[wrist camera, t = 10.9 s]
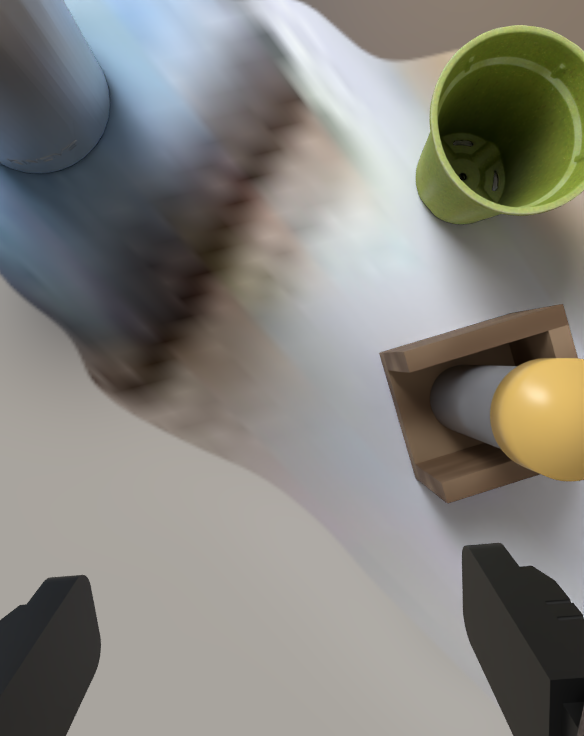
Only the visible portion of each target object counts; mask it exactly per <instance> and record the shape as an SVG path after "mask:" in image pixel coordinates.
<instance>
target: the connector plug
mask: <svg viewBox="0 0 584 736" xmlns="http://www.w3.org/2000/svg"><path fill="white" fill-rule="evenodd" d="M430 404H431V408H432V411H433V413H434V415H435V417H436V418H437V420H438V421H439V422H440V423H441V424H442V425H443V426H445V427H447V428H448V429H451V430H453V431H456V432H458V433H461V434H463V435H466V436H469V437H471V438H474V439H476V440H479V441H482V442H484V443H487V444H489V445H492V446H495V447H497V448H500V449H501V450H502V451H503V452H504V453H505V454H506V455H507V456H508V457H509V458H510V459H511V460H512V461H514V462H515V463H517V464H519V465H521V466H523V467H525V468H527V469H530V470H532V471H534V472H537V473H539V474H542V475H544V476H546V477H549V478H552V479H555V480H560V481H580V480H584V359H578V358H542V359H535V360H531V361H528V362H525V363H523V364H521V365H519V366H490V365H457V366H453V367H450V368H448V369H446V370H445V371H444V372H442V373H441V374H440V375H439V376H438V377H437V379H436V380H435V382H434V384H433V386H432V389H431V393H430Z"/></svg>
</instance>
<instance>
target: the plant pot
mask: <svg viewBox="0 0 584 736" xmlns="http://www.w3.org/2000/svg"><path fill="white" fill-rule="evenodd" d="M455 140H461V141H463V140H468V141H471V142H472V143H473V146H472V147H469V146H465V145H454V144H453V143H454V141H455ZM494 171H496V173H497V175H498V187H497V189H496V191H493V190H492V186H493V179H494V177H493V176H494ZM461 173H464V174H466V176H467V178H466V180H461V179H460V178H459V175H460V174H461ZM416 186H417V190H418V194H419V196H420V198H421V200H422V201H423V202H424V203H425V205H426V206H427V207H428V208H429V209H430V211H431V212H432V213H433V214H434V215H435V216H436V217H438V218H439V219H441V220H443V221H446V222H449V223H453V224H469V223H474V222H477V221H480V220H483V219H487V218H490V217H493V216H496V215H499V214H506V215H516V216H524V215H534V214H540V213H543V212H547V211H550V210H553V209H555V208H557V207H560V206H562V205H564V204H566V203H567V202H569V201H571V200H572V199H574V198H575V197H576V196H578V195H579V194H580V193H581V192H583V191H584V51H583V50H582V49H581V48H580V47H578V46H577V45H576V44H574V43H573V42H571V41H569V40H568V39H566V38H565V37H563V36H561V35H559V34H557V33H555V32H553V31H551V30H548V29H544V28H540V27H534V26H531V27H530V26H524V25H519V26H508V27H502V28H497V29H494V30H491V31H488V32H485V33H483V34H481V35H479V36H478V37H476V38H475V39H473V40H471V41H470V42H468V43H467V44H466V45H464V46H463V47H462V48H461V49H460V50H458V51H457V52H456V54H455V55H454V56H453V57H452V58H451V59H450V61H449V62H448V63H447V65H446V66H445V68H444V70H443V71H442V73H441V75H440V77H439V79H438V82H437V84H436V87H435V90H434V93H433V96H432V101H431V106H430V134H429V136H428V139H427V141H426V144H425V146H424V149H423V151H422V154H421V156H420V159H419V162H418V165H417V169H416Z"/></svg>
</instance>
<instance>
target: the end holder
mask: <svg viewBox="0 0 584 736" xmlns="http://www.w3.org/2000/svg"><path fill="white" fill-rule="evenodd" d="M379 354H380V357H381V361H382V364H383V367H384V371H385V374H386V378H387V381H388V385H389V388H390V391H391V395H392V398H393V402H394V405H395V409H396V412H397V416H398V419H399V422H400V426H401V429H402V433H403V436H404V440H405V443H406V447H407V450H408V453H409V457H410V460H411V464H412V467H413V471H414V474H415V478H416V479H417V480H419V481H420V482H421V483H422V484H424V485H425V486H426V487H427V488H429V489H430V490H431V491H432V492H434V493H435V494H436V495H437V496H439V497H440V498H441V499H442V500H444V501H445V502H446V503H451V502H454V501H457V500H460V499H463V498H466V497H470V496H473V495H476V494H479V493H482V492H485V491H488V490H492V489H495V488H498V487H501V486H504V485H507V484H511V483H514V482H517V481H520V480H523V479H526V478H530V477H533V476H536V475H539V473H537V472H534V471H532V470H530V469H527V468H525V467H523V466H521V465H519V464H517V463H515V462H514V461H512V460H511V459H510V458H509V457H508V456H507V455H506V454H505V453H504V452H503V451H502V450H501V449H500V448H497V447H495V446H492V445H489V444H487V443H484V442H482V441H479V440H476V439H474V438H471V437H469V436H466V435H463V434H461V433H458V432H456V431H453V430H451V429H448V428H447V427H445V426H443V425H442V424H441V423H440V422H439V421H438V420H437V418H436V417H435V415H434V413H433V411H432V408H431V404H430V393H431V389H432V386H433V384H434V382H435V380H436V379H437V377H438V376H439V375H440V374H441V373H442V372H444V371H445V370H446V369H448V368H450V367H453V366H457V365H490V366H519V365H521V364H523V363H525V362H528V361H531V360H535V359H542V358H578V357H577V353H576V349H575V346H574V342H573V339H572V335H571V331H570V328H569V324H568V321H567V317H566V313H565V310H564V306H563V304H560V305H554V306H549V307H543V308H538V309H532V310H526V311H521V312H515V313H510V314H507V315H504V316H500V317H497V318H494V319H490V320H487V321H484V322H480V323H477V324H474V325H470V326H467V327H464V328H460V329H457V330H454V331H450V332H447V333H444V334H440V335H437V336H434V337H430V338H427V339H424V340H420V341H417V342H414V343H410V344H407V345H404V346H400V347H397V348H394V349H390V350H387V351H384V352H380V353H379Z"/></svg>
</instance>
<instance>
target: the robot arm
mask: <svg viewBox="0 0 584 736" xmlns="http://www.w3.org/2000/svg"><path fill="white" fill-rule="evenodd" d="M109 109H110V97H109V88H108V85H107V82H106V78H105V75H104V73H103V71H102V69H101V67H100V65H99V64H98V62H97V60H96V58H95V56H94V54H93V53H92V51H91V49H90V47H89V45H88V44H87V42H86V40H85V38H84V36H83V35H82V33H81V31H80V29H79V27H78V25H77V23H76V21H75V20H74V18H73V16H72V14H71V13H70V11H69V9H68V7H67V5H66V4H65V2H64V0H0V163H1V164H3V165H5V166H7V167H9V168H11V169H15V170H18V171H22V172H26V173H48V172H55V171H59V170H62V169H64V168H67V167H69V166H72V165H74V164H75V163H77V162H78V161H80V160H81V159H83V158H84V157H85V156H86V155H87V154H88V153H89V152H90V151H91V150H92V149H93V148H94V147H95V146H96V144H97V143H98V141H99V139H100V138H101V136H102V135H103V133H104V130H105V127H106V124H107V121H108V117H109ZM462 585H463V616H464V622H465V627H466V631H467V635H468V638H469V641H470V644H471V646H472V648H473V650H474V652H475V654H476V657H477V659H478V661H479V663H480V665H481V667H482V669H483V672H484V674H485V676H486V678H487V680H488V682H489V684H490V687H491V689H492V691H493V693H494V695H495V697H496V699H497V702H498V704H499V706H500V708H501V710H502V712H503V714H504V717H505V719H506V720H507V723H508V725H509V727H510V729H511V731H512V734H513V736H584V618H583V614H582V613H581V612H580V611H579V610H578V608H577V607H576V606H575V605H574V603H571V602H570V599H569V597H568V596H567V595H566V594H565V592H564V591H563V590H562V589H561V588H560V586H559V585H558V584H557V583H556V581H555V580H553V579H552V578H550V577H548V576H547V575H545V574H544V573H542V572H541V571H539V570H538V569H536V568H535V567H533V566H523V567H519V566H518V564H517V563H516V562H515V560H514V559H513V558H512V556H511V555H510V554H509V552H508V551H507V550H506V548H505V547H504V546H503V545H502V544H501V543H492V544H479V545H467V546H464V547H463V551H462ZM100 650H101V639H100V633H99V627H98V622H97V617H96V612H95V606H94V601H93V596H92V591H91V585H90V582H89V579H88V578H87V577H86V576H85V575H77V576H65V577H52V578H48V579H47V580H45V581H44V582H43V584H42V585H41V586H40V587H39V589H38V590H37V591H36V593H35V594H34V595H33V597H32V598H31V599H30V601H29V602H28V603H27V605H20V606H18V607H17V608H16V609H14V610H13V611H12V612H10V613H9V614H8V615H6V616H5V617H4V618H2V619H1V620H0V736H66V734H67V732H68V730H69V728H70V726H71V724H72V721H73V719H74V717H75V715H76V713H77V711H78V708H79V707H80V704H81V702H82V700H83V698H84V696H85V693H86V692H87V689H88V687H89V685H90V683H91V681H92V679H93V677H94V674H95V672H96V670H97V667H98V663H99V658H100Z"/></svg>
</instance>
